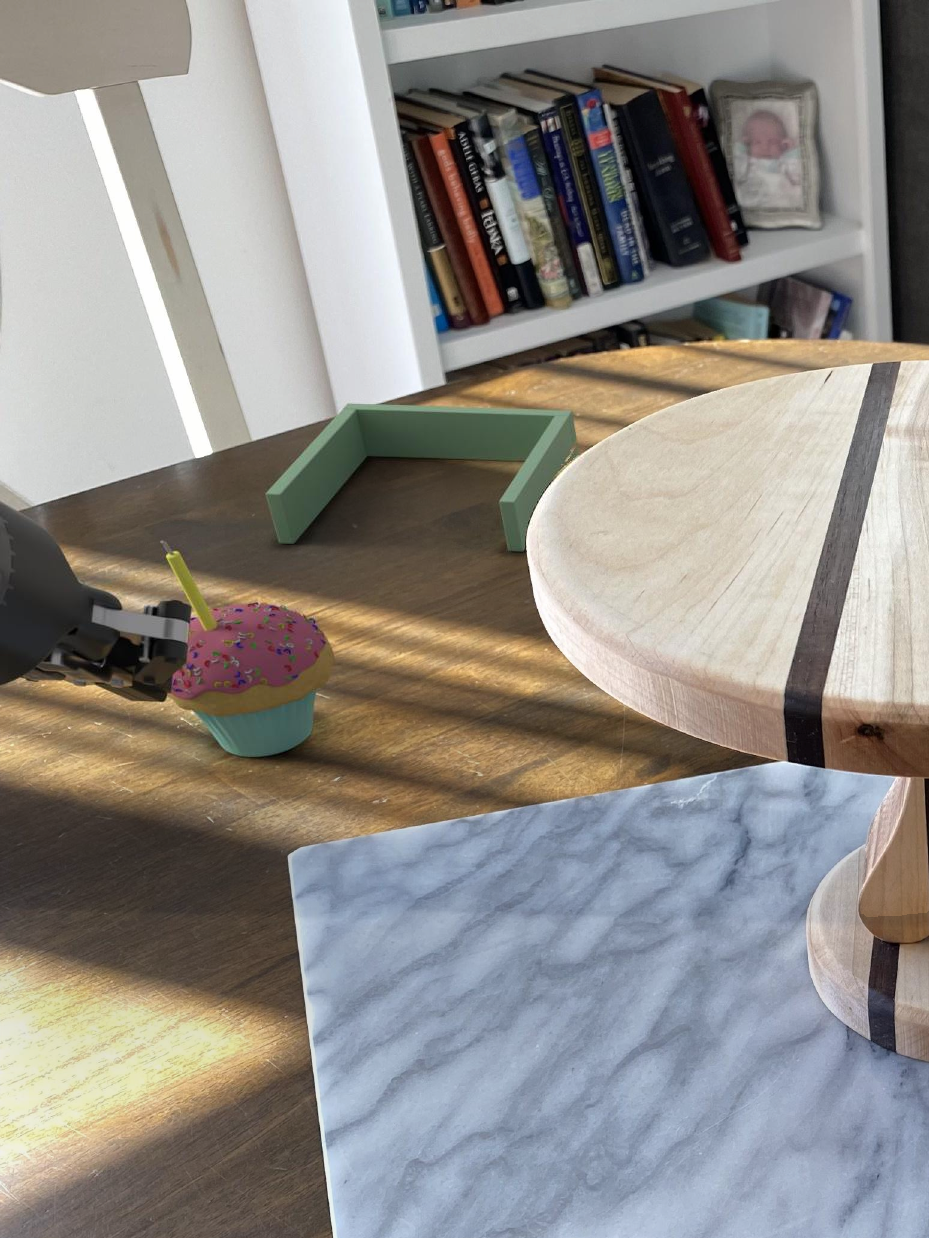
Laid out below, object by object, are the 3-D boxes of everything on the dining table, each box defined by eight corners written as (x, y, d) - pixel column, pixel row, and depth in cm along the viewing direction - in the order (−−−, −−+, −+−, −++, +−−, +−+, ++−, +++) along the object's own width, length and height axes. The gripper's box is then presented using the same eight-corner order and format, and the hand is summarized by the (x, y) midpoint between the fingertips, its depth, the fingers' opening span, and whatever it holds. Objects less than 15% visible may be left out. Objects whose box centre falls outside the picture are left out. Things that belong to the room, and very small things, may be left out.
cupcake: (214, 795, 87) (143, 585, 80) (160, 725, 92) (89, 522, 85) (375, 740, 91) (322, 537, 84) (315, 676, 97) (260, 479, 89)
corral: (523, 552, 109) (514, 501, 107) (278, 543, 109) (264, 493, 107) (579, 457, 121) (572, 410, 119) (358, 450, 121) (347, 403, 119)
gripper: (92, 471, 63) (298, 608, 80) (-256, 462, 63) (23, 600, 80) (72, 667, 62) (284, 763, 79) (-281, 656, 62) (7, 754, 80)
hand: (152, 681), depth 80 cm, fingers closed
